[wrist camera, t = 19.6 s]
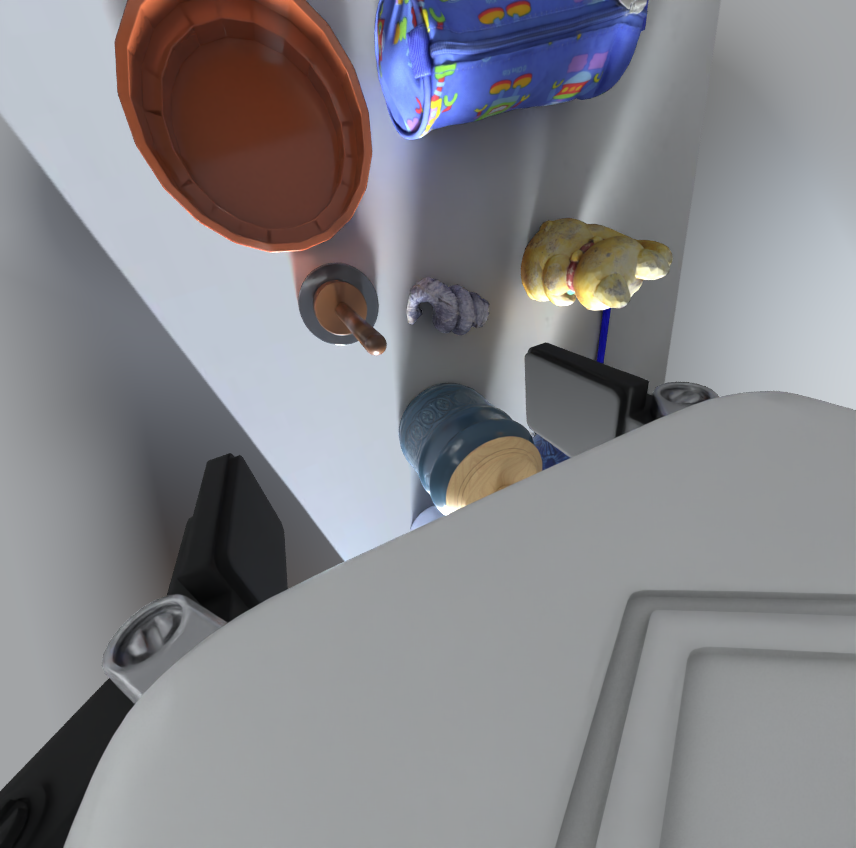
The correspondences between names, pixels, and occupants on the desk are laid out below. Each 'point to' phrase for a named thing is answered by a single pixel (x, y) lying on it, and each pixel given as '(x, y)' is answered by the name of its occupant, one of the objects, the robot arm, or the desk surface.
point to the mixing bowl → (246, 116)
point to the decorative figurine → (589, 264)
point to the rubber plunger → (346, 314)
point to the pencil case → (498, 55)
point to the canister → (464, 446)
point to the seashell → (448, 306)
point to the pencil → (603, 335)
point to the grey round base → (327, 274)
